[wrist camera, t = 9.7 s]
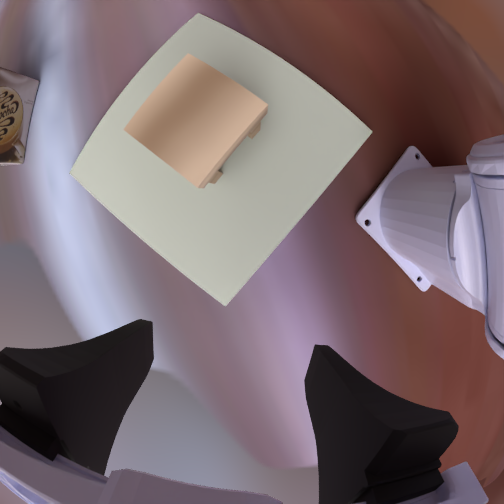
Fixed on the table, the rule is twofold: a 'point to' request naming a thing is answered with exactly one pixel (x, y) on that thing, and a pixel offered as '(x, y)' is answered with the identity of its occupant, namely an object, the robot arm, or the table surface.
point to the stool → (197, 120)
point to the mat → (234, 169)
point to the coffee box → (15, 114)
